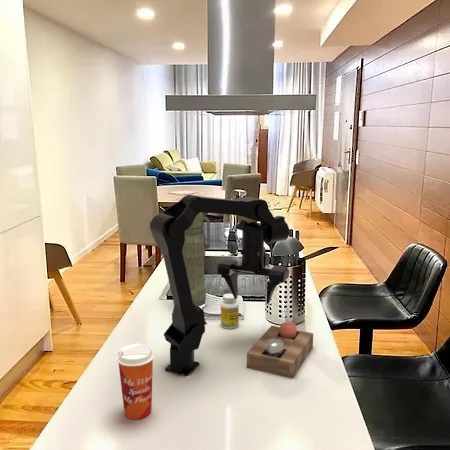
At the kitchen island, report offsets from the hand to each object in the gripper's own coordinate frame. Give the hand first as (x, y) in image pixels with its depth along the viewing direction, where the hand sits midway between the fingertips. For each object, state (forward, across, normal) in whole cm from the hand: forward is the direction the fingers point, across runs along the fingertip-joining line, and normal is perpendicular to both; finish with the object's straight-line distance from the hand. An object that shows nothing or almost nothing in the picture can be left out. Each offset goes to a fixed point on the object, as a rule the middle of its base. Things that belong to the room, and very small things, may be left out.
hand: (251, 301), depth 128 cm
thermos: (+13, +28, -20) cm, 37 cm away
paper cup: (+14, +12, +38) cm, 42 cm away
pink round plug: (+10, -10, -2) cm, 14 cm away
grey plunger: (+10, -9, +9) cm, 16 cm away
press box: (+13, -10, +3) cm, 16 cm away
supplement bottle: (+13, +10, -10) cm, 20 cm away
